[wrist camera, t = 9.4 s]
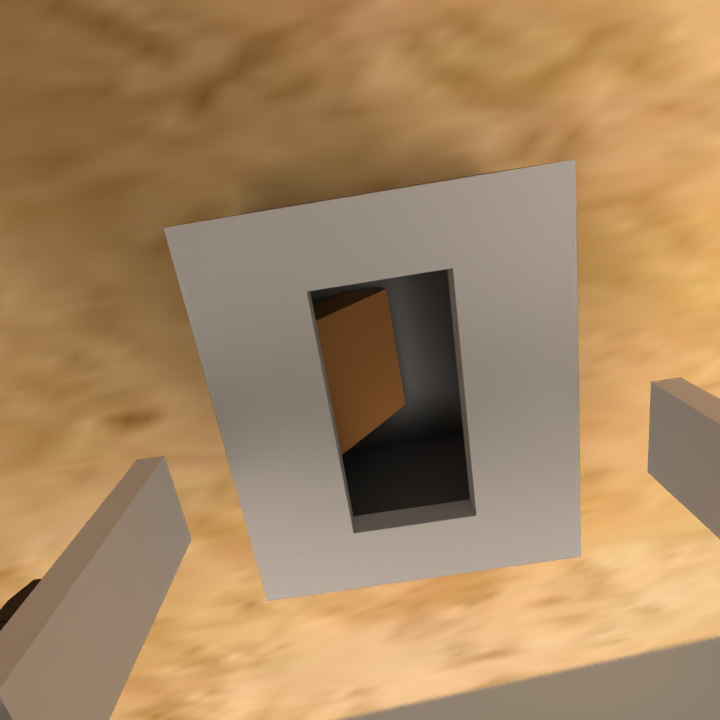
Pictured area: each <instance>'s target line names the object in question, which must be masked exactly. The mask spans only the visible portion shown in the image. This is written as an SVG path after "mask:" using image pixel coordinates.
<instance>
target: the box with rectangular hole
mask: <svg viewBox="0 0 720 720" xmlns="http://www.w3.org/2000/svg"><path fill="white" fill-rule="evenodd" d="M164 231H165V235H166V239H167V242H168V246H169V249H170V253H171V257H172V260H173V264H174V267H175V271H176V275H177V278H178V282H179V285H180V289H181V293H182V296H183V300H184V303H185V307H186V311H187V314H188V318H189V321H190V325H191V329H192V332H193V336H194V339H195V343H196V347H197V350H198V354H199V357H200V361H201V364H202V368H203V372H204V375H205V379H206V382H207V386H208V390H209V393H210V397H211V400H212V404H213V408H214V411H215V415H216V418H217V422H218V426H219V429H220V433H221V436H222V440H223V444H224V447H225V451H226V454H227V458H228V462H229V465H230V469H231V472H232V476H233V480H234V483H235V487H236V490H237V494H238V497H239V501H240V505H241V508H242V512H243V515H244V519H245V523H246V526H247V530H248V533H249V537H250V541H251V544H252V548H253V551H254V555H255V559H256V562H257V566H258V569H259V573H260V577H261V580H262V584H263V587H264V591H265V595H266V598H267V601H273V600H280V599H287V598H294V597H301V596H308V595H315V594H322V593H329V592H336V591H343V590H350V589H357V588H364V587H371V586H378V585H385V584H392V583H399V582H406V581H413V580H420V579H427V578H434V577H441V576H448V575H455V574H462V573H469V572H476V571H483V570H490V569H497V568H504V567H511V566H518V565H525V564H532V563H539V562H546V561H553V560H560V559H567V558H574V557H581V519H580V444H579V368H578V293H577V217H576V159H575V160H569V161H562V162H556V163H549V164H543V165H537V166H530V167H524V168H517V169H511V170H504V171H498V172H491V173H485V174H479V175H473V176H467V177H461V178H455V179H449V180H443V181H437V182H431V183H425V184H419V185H413V186H406V187H400V188H394V189H388V190H382V191H376V192H370V193H364V194H358V195H352V196H346V197H340V198H334V199H328V200H322V201H316V202H310V203H304V204H298V205H292V206H286V207H280V208H274V209H268V210H262V211H256V212H250V213H244V214H238V215H232V216H227V217H221V218H216V219H210V220H205V221H199V222H194V223H188V224H182V225H177V226H171V227H166V228H164ZM370 289H386V291H387V297H388V303H389V309H390V315H391V321H392V327H393V333H394V339H395V345H396V351H397V357H398V363H399V369H400V375H401V381H402V387H403V393H404V399H405V406H403V407H402V408H401V409H399V410H398V411H397V412H396V413H394V414H393V415H392V416H391V417H389V418H388V419H387V420H386V421H384V422H383V423H382V424H380V425H379V426H378V427H377V428H375V429H374V430H373V431H372V432H370V433H369V434H368V435H367V436H365V437H364V438H363V439H361V440H360V441H359V442H358V443H356V444H355V445H354V446H353V447H351V448H350V449H349V450H348V451H346V452H345V453H344V454H343V455H341V449H340V444H339V439H338V434H337V428H336V423H335V418H334V413H333V408H332V402H331V397H330V392H329V387H328V382H327V376H326V371H325V366H324V361H323V356H322V350H321V345H320V340H319V335H318V330H317V324H316V319H315V314H314V309H313V304H314V303H316V302H319V301H321V300H323V299H326V298H328V297H331V296H333V295H336V294H338V293H340V292H343V291H345V290H370Z"/></svg>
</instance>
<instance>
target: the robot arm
mask: <svg viewBox="0 0 720 720" xmlns="http://www.w3.org/2000/svg"><path fill="white" fill-rule="evenodd" d="M648 473H649V474H650V475H651V476H652V477H654V478H655V479H656V480H657V481H658V482H659V483H660V484H661V485H662V486H663V487H664V488H665V489H666V490H668V491H669V492H670V493H671V494H672V495H673V496H674V497H675V498H676V499H677V500H678V501H679V502H681V503H682V504H683V505H684V506H685V507H686V508H687V509H688V510H689V511H690V512H691V513H692V514H693V515H695V516H696V517H697V518H698V519H699V520H700V521H701V522H702V523H703V524H704V525H705V526H706V527H707V528H709V529H710V530H711V531H712V532H713V533H714V534H715V535H716V536H717V537H718V538H719V539H720V399H719V398H717V397H715V396H713V395H712V394H710V393H708V392H706V391H704V390H703V389H701V388H699V387H697V386H695V385H693V384H692V383H690V382H688V381H686V380H684V379H683V378H681V377H679V378H673V379H666V380H660V381H653V382H651V398H650V424H649V450H648ZM190 541H191V537H190V534H189V530H188V527H187V524H186V521H185V518H184V515H183V512H182V509H181V506H180V503H179V500H178V497H177V494H176V490H175V487H174V484H173V481H172V478H171V475H170V472H169V469H168V466H167V463H166V460H165V457H164V456H160V457H154V458H147V459H141V460H136V462H135V463H134V464H133V465H132V467H131V468H130V469H129V470H128V472H127V473H126V474H125V475H124V477H123V478H122V479H121V480H120V482H119V483H118V484H117V485H116V487H115V488H114V489H113V490H112V492H111V493H110V494H109V495H108V497H107V498H106V499H105V501H104V502H103V503H102V504H101V506H100V507H99V508H98V509H97V511H96V512H95V513H94V514H93V516H92V517H91V518H90V519H89V521H88V522H87V523H86V524H85V526H84V527H83V528H82V529H81V531H80V532H79V533H78V534H77V536H76V537H75V538H74V539H73V541H72V542H71V543H70V544H69V546H68V547H67V548H66V549H65V551H64V552H63V553H62V554H61V556H60V557H59V558H58V559H57V561H56V562H55V563H54V564H53V566H52V567H51V568H50V569H49V571H48V572H47V573H46V574H45V576H44V577H43V578H42V579H37V580H33V581H32V582H31V583H29V584H28V585H27V586H26V587H24V588H23V589H22V590H21V591H19V592H18V593H17V594H16V595H14V596H13V597H12V598H11V599H9V600H8V601H7V603H6V604H5V605H4V606H3V607H2V608H1V610H0V720H109V718H110V716H111V714H112V712H113V710H114V707H115V705H116V703H117V701H118V699H119V697H120V694H121V692H122V690H123V688H124V686H125V683H126V681H127V679H128V677H129V675H130V672H131V670H132V668H133V666H134V664H135V661H136V659H137V657H138V655H139V653H140V650H141V648H142V646H143V644H144V642H145V640H146V637H147V635H148V633H149V631H150V629H151V626H152V624H153V622H154V620H155V618H156V615H157V613H158V611H159V609H160V607H161V604H162V602H163V600H164V598H165V596H166V593H167V591H168V589H169V587H170V585H171V583H172V580H173V578H174V576H175V574H176V572H177V569H178V567H179V565H180V563H181V561H182V558H183V556H184V554H185V552H186V550H187V547H188V545H189V543H190Z"/></svg>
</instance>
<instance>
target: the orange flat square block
mask: <svg viewBox="0 0 720 720" xmlns="http://www.w3.org/2000/svg"><path fill="white" fill-rule="evenodd" d="M313 309H314V314H315V319H316V324H317V330H318V335H319V340H320V345H321V350H322V356H323V361H324V366H325V371H326V376H327V382H328V387H329V392H330V397H331V402H332V408H333V413H334V418H335V423H336V428H337V434H338V439H339V444H340V449H341V455H343V454H344V453H345V452H346V451H348V450H349V449H350V448H351V447H353V446H354V445H355V444H356V443H358V442H359V441H360V440H361V439H363V438H364V437H365V436H367V435H368V434H369V433H370V432H372V431H373V430H374V429H375V428H377V427H378V426H379V425H380V424H382V423H383V422H384V421H386V420H387V419H388V418H389V417H391V416H392V415H393V414H394V413H396V412H397V411H398V410H399V409H401V408H402V407H403V406H405V399H404V393H403V387H402V381H401V375H400V369H399V363H398V357H397V351H396V345H395V339H394V333H393V327H392V321H391V315H390V309H389V303H388V297H387V291H386V289H370V290H345V291H343V292H340V293H338V294H336V295H333V296H331V297H328V298H326V299H323V300H321V301H319V302H316V303H314V304H313Z"/></svg>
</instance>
